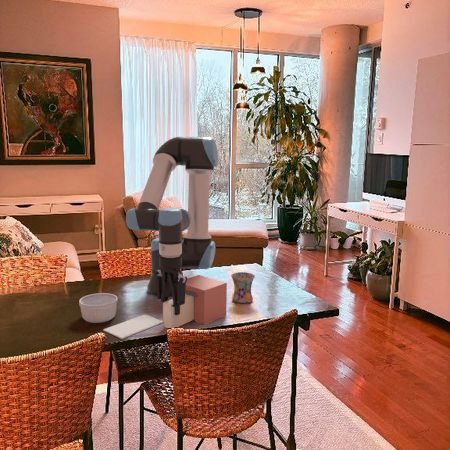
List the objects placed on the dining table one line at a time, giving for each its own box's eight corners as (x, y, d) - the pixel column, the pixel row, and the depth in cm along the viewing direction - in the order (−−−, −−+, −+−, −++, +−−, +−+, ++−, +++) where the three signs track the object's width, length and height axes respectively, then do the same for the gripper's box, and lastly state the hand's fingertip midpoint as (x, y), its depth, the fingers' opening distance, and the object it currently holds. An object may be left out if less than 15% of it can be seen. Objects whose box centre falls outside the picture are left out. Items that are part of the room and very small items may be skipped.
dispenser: (174, 315, 164) (174, 282, 162) (198, 306, 174) (198, 274, 172) (202, 325, 156) (202, 291, 153) (226, 315, 165) (226, 282, 163)
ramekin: (82, 327, 153) (81, 307, 152) (77, 313, 165) (77, 295, 164) (121, 321, 159) (120, 302, 157) (114, 308, 170) (113, 291, 169)
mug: (256, 304, 177) (257, 278, 175) (233, 305, 175) (234, 279, 173) (249, 294, 189) (249, 269, 187) (227, 295, 187) (227, 270, 185)
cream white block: (164, 327, 154) (163, 302, 152) (192, 314, 164) (192, 290, 162) (171, 329, 151) (170, 304, 150) (199, 316, 162) (199, 293, 160)
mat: (103, 330, 150) (103, 329, 150) (144, 315, 164) (144, 314, 164) (121, 339, 144) (121, 337, 144) (163, 322, 158) (163, 321, 158)
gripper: (145, 252, 151) (146, 318, 156) (180, 261, 141) (180, 331, 145) (161, 249, 157) (162, 312, 161) (196, 257, 147) (196, 324, 151)
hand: (170, 321), depth 153 cm, fingers closed on cream white block, 3 cm apart
